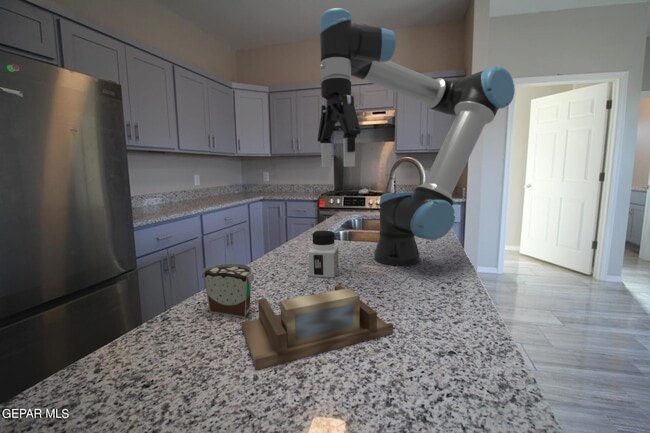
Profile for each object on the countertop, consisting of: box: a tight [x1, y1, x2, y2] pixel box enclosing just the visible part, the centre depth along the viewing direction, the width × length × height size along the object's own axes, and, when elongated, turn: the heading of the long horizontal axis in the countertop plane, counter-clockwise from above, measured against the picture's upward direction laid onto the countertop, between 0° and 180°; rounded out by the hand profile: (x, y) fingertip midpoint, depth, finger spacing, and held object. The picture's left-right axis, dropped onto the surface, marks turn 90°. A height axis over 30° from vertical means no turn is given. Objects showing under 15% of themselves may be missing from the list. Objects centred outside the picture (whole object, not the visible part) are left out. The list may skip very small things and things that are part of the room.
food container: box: [201, 263, 255, 319], centre depth 70 cm, size 12×6×10 cm, turn 71°
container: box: [307, 229, 339, 279], centre depth 94 cm, size 8×8×13 cm
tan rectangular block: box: [279, 287, 361, 348], centre depth 57 cm, size 14×4×7 cm, turn 113°
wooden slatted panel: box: [240, 285, 394, 371], centre depth 61 cm, size 26×15×5 cm, turn 113°
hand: (337, 167), depth 81 cm, fingers open, 13 cm apart
